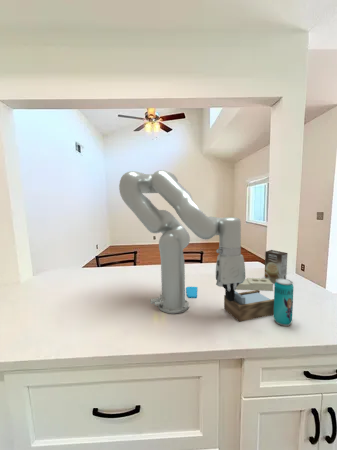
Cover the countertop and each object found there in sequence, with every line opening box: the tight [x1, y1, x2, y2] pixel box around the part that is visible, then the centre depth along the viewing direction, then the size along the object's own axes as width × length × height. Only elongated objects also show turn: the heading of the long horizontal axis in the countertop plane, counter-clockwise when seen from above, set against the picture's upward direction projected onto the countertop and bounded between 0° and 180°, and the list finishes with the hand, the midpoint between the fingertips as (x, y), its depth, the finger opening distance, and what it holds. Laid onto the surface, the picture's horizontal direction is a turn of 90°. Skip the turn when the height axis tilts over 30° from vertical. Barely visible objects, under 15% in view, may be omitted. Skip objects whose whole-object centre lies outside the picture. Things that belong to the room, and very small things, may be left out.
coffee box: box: [263, 249, 288, 284], centre depth 113 cm, size 9×6×16 cm
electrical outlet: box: [235, 277, 274, 292], centre depth 107 cm, size 7×4×18 cm
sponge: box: [185, 286, 198, 299], centre depth 102 cm, size 2×12×6 cm
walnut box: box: [223, 290, 274, 323], centre depth 83 cm, size 16×10×6 cm, turn 107°
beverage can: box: [273, 278, 294, 327], centre depth 74 cm, size 6×6×15 cm
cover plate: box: [234, 290, 271, 305], centre depth 83 cm, size 13×7×4 cm, turn 107°
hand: (229, 299), depth 80 cm, fingers closed
